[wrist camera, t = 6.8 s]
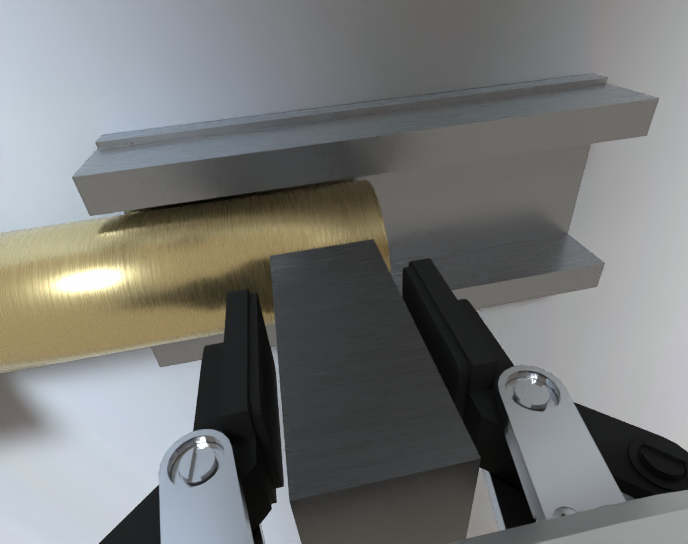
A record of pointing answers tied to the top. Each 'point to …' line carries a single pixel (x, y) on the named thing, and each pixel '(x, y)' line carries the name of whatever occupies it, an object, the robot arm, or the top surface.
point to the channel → (402, 177)
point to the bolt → (292, 342)
